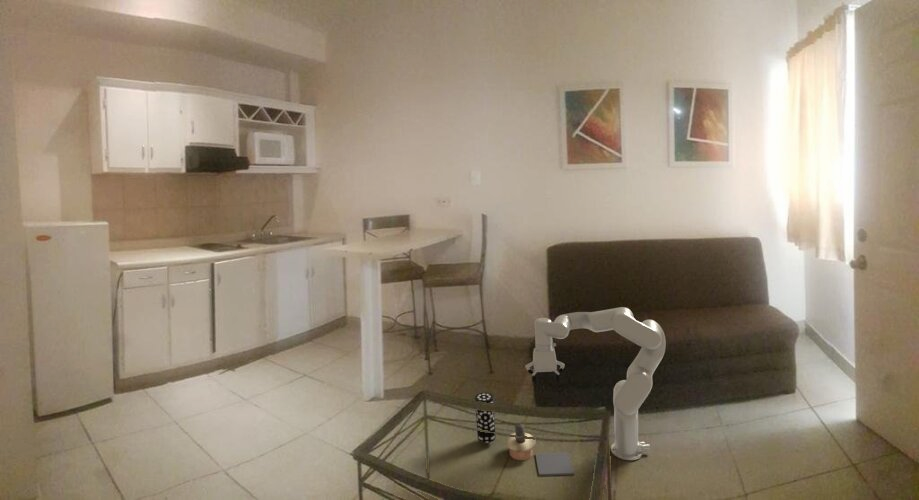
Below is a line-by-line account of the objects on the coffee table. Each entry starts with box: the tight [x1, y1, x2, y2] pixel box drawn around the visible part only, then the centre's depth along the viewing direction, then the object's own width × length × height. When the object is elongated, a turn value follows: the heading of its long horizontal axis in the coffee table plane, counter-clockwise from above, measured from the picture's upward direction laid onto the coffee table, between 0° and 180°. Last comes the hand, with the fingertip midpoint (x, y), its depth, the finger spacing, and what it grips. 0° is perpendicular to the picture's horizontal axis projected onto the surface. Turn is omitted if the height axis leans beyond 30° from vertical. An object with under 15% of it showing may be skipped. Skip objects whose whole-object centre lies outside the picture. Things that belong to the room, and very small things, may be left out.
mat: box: [534, 451, 575, 477], centre depth 187 cm, size 14×14×1 cm
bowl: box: [508, 448, 534, 461], centre depth 196 cm, size 10×10×5 cm
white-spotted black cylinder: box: [474, 392, 497, 444], centre depth 203 cm, size 8×8×20 cm
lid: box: [505, 422, 537, 452], centre depth 195 cm, size 13×13×8 cm
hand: (545, 382), depth 199 cm, fingers open, 9 cm apart
